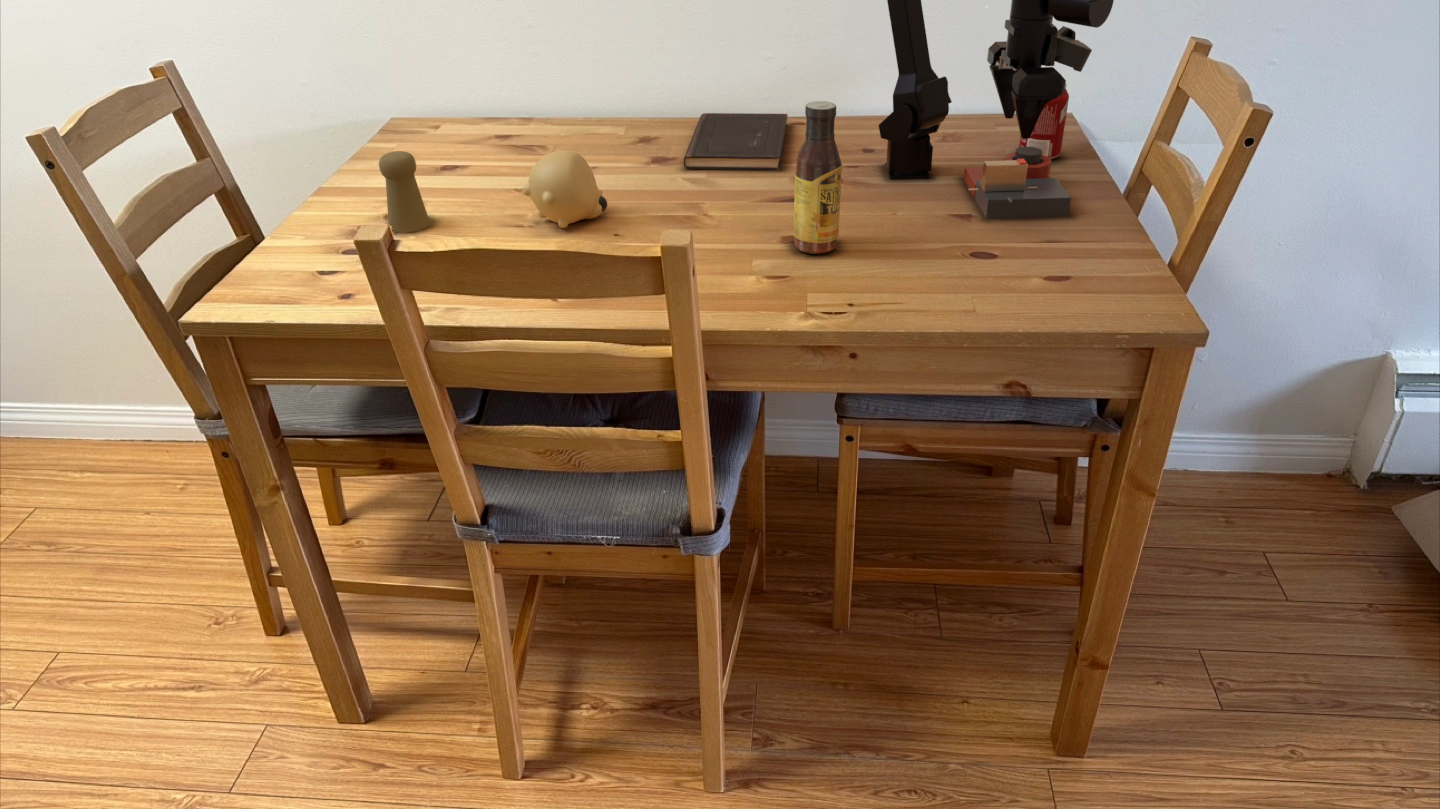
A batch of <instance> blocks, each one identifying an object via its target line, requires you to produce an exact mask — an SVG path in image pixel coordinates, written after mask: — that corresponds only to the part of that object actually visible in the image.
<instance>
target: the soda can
mask: <svg viewBox="0 0 1440 809" xmlns="http://www.w3.org/2000/svg"><path fill="white" fill-rule="evenodd" d="M1067 87H1068V84H1067V83H1066V84H1065V90H1064V94H1063V95H1061V96H1059V97H1058V98H1057V99H1053V100H1051V101H1050V102H1048V103H1047V104H1046V105H1045V106H1044V108H1043V110H1042V112H1041V114H1040V116H1039V119H1038V121H1037V123H1036V125H1035V127H1034V130H1033V132H1032V134H1031V136H1030V138H1029V139H1022V138H1021V134H1020V135H1019V142H1018V144H1019V145H1018V148H1020V147H1035V148H1039V149H1041V150H1042V155H1044V156H1047V157H1049V158H1050V160H1051V161H1052V160H1054V159H1056V158H1058V157H1059V156H1060V155H1061V153H1062V146H1063V140H1064V134H1065V127H1066V120H1067V113H1068V107H1069V99H1070V95H1069V94H1070V93H1069V92H1068V90H1067Z"/></svg>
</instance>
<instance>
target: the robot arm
mask: <svg viewBox="0 0 1440 809" xmlns="http://www.w3.org/2000/svg"><path fill="white" fill-rule="evenodd" d="M886 2H887V8H888V16H889V20H890V26H891V34H892V39H893V40H892V41H893V46H894V53H895V58H896V65H897V72H898V76H897V80H896V83H895V87H894V90H893V93H892V112H891V113H889V115H888V116H887V117H886V118H884V119H883V120H882V121H881V122H880V123H879V124H878V129H879V134H880V138H881V139H883V140H885V141H887V146H886V147H887V148H886V161H885V163H883V165H884V166H883V167H884V169H885V172H886V175H887V177H888V179H889V180H913V179H914V180H915V179H919V180H920V179H930V177H931V176H930V175H931V174H930V171H932V166H933V165H932V164H933V153H934V146H933V144H932V142H931V136H930V135H931V134H933V133H934V134H935V133H938V131H939V129H940V126H941V124H942V123H943V122H944V121H945V119H946V117H947V116H948V115H949V112H950V105H949V104H951V103H952V99H951V96H950V93H949V80H948V78H947V76H942V77H939V76H938V75H937V73H936V72H935V70H933V68H932V65H931V58H930V51H929V44H928V38H927V37H928V36H927V30H926V23H925V19H924V18H925V17H924V11H923V4H922V0H886ZM1114 2H1115V1H1114V0H1011V4H1010V12H1009V18H1008V19H1005V21H1004V29H1005V30H1007V37H1006V41H995V42H994V43H992V44H991V45H990V46H989V47H988V50H987V59H986V61H987V62H988V64H989V70H990V72H991V75H992V80H993V82H994V85H995V89H996V92H997V94H998V99H999V101H1000V105H1001V109H1002V112H1003V116H1004V118H1005V119H1007V120H1008V119H1013V118H1014V116H1015V114H1016V121H1017V125H1018V129H1019V134H1020V135H1021V138H1022V139H1029V138H1030V136H1031V134H1032V132H1033V130H1034V127H1035V125H1036V123H1037V121H1038V119H1039V116H1040V114H1041V112H1042V110H1043V108H1044V106H1045V105H1046V104H1047V103H1048V102H1050V101H1051V100H1053V99H1057V98H1058V97H1059V96H1061V95H1063V94H1064V90H1065V84H1067V80H1066V79H1065V78H1064V76H1063V75H1062V74H1061V73H1060V72H1059V71H1058V70H1057V69H1056V68H1055V67H1054V66H1055V63H1058V64H1061V65H1063V66H1067V67H1069V68H1072V69H1073V71H1076V72H1079V73H1081V72H1082V71H1083V68H1084V67H1085V65H1086V63H1087V61H1088V60H1089V57H1090V56H1091V53H1092V51H1093V50H1092V48H1090V47H1089V46H1088V45H1087V44H1085V43H1084V42H1082V41H1080V40H1078V39H1076V36H1077V35H1076V31H1075V30H1074V29H1072V28H1071V27H1068V26H1065V25H1063V26H1062V27H1060V28H1059V29H1058V27H1057V26H1056V24H1053V20H1056V21H1057V22H1062V23H1068V24H1073V25H1078V26H1084V27H1090V28H1095V29H1097V28H1100V27H1101V26H1103V24H1104V23H1105V22H1106V21H1107V19H1108V18H1109V16H1110V14H1111V11H1112V9H1113V5H1114ZM1042 66H1043V67H1042Z"/></svg>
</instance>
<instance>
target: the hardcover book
mask: <svg viewBox="0 0 1440 809" xmlns="http://www.w3.org/2000/svg"><path fill="white" fill-rule="evenodd" d="M787 121H788V113H746V112H745V113H743V112H742V113H740V112H739V113H733V112H732V113H730V112H728V113H727V112H725V113H723V112H721V113H720V112H719V113H717V112H716V113H715V112H714V113H713V112H707V113H706V112H704V113H701V115H700V117H699V119H698V121H697V124H696V126H695V129H694V131H693V134H692V136H691V140H690V141H689V144H688V147H687V149H686V152H685V155H684V157H683V162H682V163H683V167H684V168H685V169H686V170H714V171H715V170H716V171H717V170H719V171H721V170H724V171H781V167H782V160H783V156H784V149H785V142H786V136H787V131H788V123H787Z"/></svg>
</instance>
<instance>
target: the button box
mask: <svg viewBox="0 0 1440 809" xmlns="http://www.w3.org/2000/svg"><path fill="white" fill-rule="evenodd" d="M1014 159H1015V152H1013V153H1009V154H1007V155H1006V156H1005V157H1004V158H1003V161H1010V160H1014ZM1052 162H1053V161H1052V159H1051V160H1050V158H1049V157H1047V156H1044V155H1042V159H1041V163H1040V164H1036V165H1028V168H1027V176H1026V179H1042V178H1051V177H1050V176H1049V175H1050V174H1051V169H1052ZM982 174H983V166H964V170H963V178H962V179H963V180H964V182H965V184H966V186H967V187H968V188H967V189H976V182H977V180H982ZM975 191H976V190H972V191H970V193H971V195H972V197H973V198H975Z"/></svg>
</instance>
